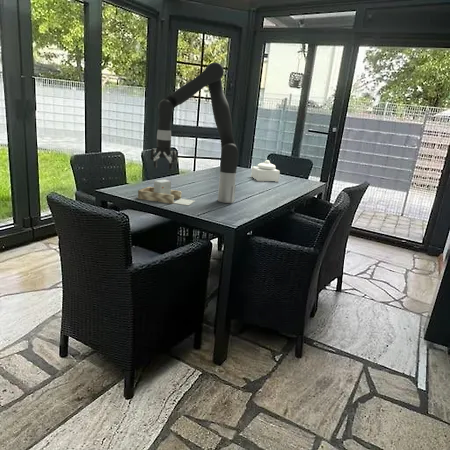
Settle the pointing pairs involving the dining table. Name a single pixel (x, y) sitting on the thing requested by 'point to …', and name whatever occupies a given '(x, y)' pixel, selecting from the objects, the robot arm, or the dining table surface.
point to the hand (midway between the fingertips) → (163, 168)
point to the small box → (162, 186)
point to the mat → (184, 202)
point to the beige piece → (158, 195)
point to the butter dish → (265, 172)
